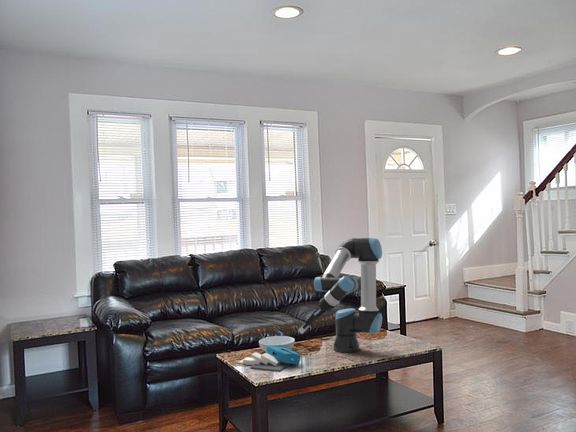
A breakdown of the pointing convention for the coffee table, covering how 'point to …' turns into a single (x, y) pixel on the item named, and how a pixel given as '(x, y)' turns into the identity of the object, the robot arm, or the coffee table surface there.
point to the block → (284, 354)
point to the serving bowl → (277, 342)
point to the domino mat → (270, 366)
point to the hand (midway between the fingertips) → (300, 331)
